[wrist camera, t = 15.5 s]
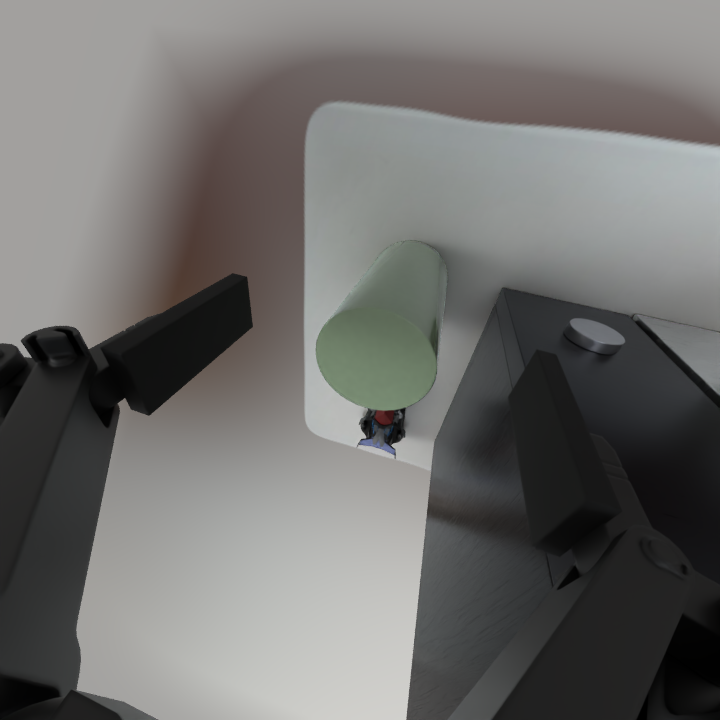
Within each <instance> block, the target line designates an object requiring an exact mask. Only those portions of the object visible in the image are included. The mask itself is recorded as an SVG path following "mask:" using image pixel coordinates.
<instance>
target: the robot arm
mask: <svg viewBox="0 0 720 720" xmlns="http://www.w3.org/2000/svg"><path fill="white" fill-rule="evenodd" d="M252 327H253V324H252V316H251V307H250V299H249V289H248V281H247V277H245V276H241V275H237V274H231V275H229V276H227V277H225V278H224V279H222V280H220V281H218V282H216V283H215V284H213V285H211V286H209V287H208V288H206V289H204V290H202V291H200V292H198V293H197V294H195V295H193V296H191V297H190V298H188V299H186V300H184V301H182V302H181V303H179V304H177V305H175V306H173V307H172V308H170V309H168V310H166V311H165V312H163V313H160V314H157V315H154V316H151V317H147V318H145V319H144V320H142V321H140V322H138V323H137V324H135V326H134V325H133V326H131V327H129V328H127V329H126V331H122V332H120V333H118V334H116V335H114V336H113V337H111V338H109V339H107V340H105V341H103V342H102V343H100V344H98V345H96V346H94V347H92V348H91V349H88V347H87V346H86V344H85V342H84V340H83V338H82V336H81V334H80V332H79V331H78V330H77V329H76V328H74V327H69V326H54V327H48V328H44V329H40V330H38V331H34V332H32V333H31V334H28V335H26V336H25V337H24V338H23V339H22V340H21V342H22V343H23V345H24V346H25V348H26V349H27V351H28V352H29V354H30V355H31V357H32V358H27V357H24V356H23V355H22V354H21V352H20V351H19V349H18V348H17V347H16V346H14V345H12V344H3V343H2V344H0V720H157V719H156V718H154V717H152V716H150V715H148V714H146V713H144V712H142V711H140V710H138V709H136V708H134V707H132V706H130V705H129V704H127V703H125V702H122V701H118V700H114V699H109V698H106V697H101V696H97V695H93V694H89V693H85V692H81V691H77V690H76V689H77V683H78V678H79V671H80V662H81V656H80V647H79V643H78V639H77V635H76V626H77V620H78V615H79V610H80V605H81V600H82V595H83V590H84V585H85V580H86V575H87V571H88V565H89V561H90V556H91V551H92V546H93V541H94V536H95V531H96V526H97V521H98V516H99V512H100V507H101V502H102V497H103V492H104V487H105V482H106V477H107V472H108V468H109V462H110V458H111V453H112V448H113V443H114V438H115V433H116V428H117V423H118V419H119V414H120V410H119V409H120V408H119V406H118V404H117V403H119V402H120V401H121V400H123V399H124V398H126V400H127V402H128V404H129V406H130V408H131V409H132V410H134V411H137V412H140V413H143V414H146V415H151V414H152V413H153V412H154V411H155V410H156V409H158V408H159V407H160V406H161V405H162V404H163V403H164V402H166V401H167V400H168V399H169V398H170V397H171V396H172V395H174V394H175V393H176V392H177V391H178V390H180V389H181V388H182V387H183V386H184V385H185V384H187V383H188V382H189V381H190V380H191V379H192V378H194V377H195V376H196V375H197V374H198V373H199V372H201V371H202V370H203V369H204V368H205V367H206V366H207V365H209V364H210V363H211V362H212V361H213V360H215V358H217V357H218V356H219V355H220V354H221V353H223V352H224V351H225V350H226V349H227V348H229V347H230V346H231V345H232V344H233V343H234V342H235V341H237V340H238V339H239V338H240V337H241V336H242V335H243V334H245V333H246V332H247V331H248V330H249V329H251V328H252ZM508 401H509V407H510V413H511V420H512V426H513V432H514V438H515V445H516V451H517V457H518V463H519V470H520V476H521V482H522V488H523V495H524V501H525V507H526V513H527V520H528V526H529V532H530V538H531V545H532V548H535V549H538V550H541V551H544V552H547V553H550V554H553V555H555V556H558V557H560V556H562V555H563V554H564V553H566V552H567V551H568V550H570V549H571V548H572V552H573V556H574V560H575V564H573V565H572V566H570V567H569V568H567V569H566V570H564V571H563V572H561V573H560V574H558V575H557V576H555V578H556V579H557V580H558V582H557V583H556V584H555V586H554V587H553V588H552V589H551V591H550V592H549V593H548V594H547V596H546V597H545V598H544V599H543V601H542V602H541V603H540V604H539V606H538V607H537V608H536V609H535V611H534V612H533V613H532V614H531V616H530V617H529V618H528V619H527V621H526V622H525V623H524V624H523V626H522V627H521V628H520V629H519V631H518V632H517V633H516V634H515V636H514V637H513V638H512V639H511V641H510V642H509V643H508V644H507V646H506V647H505V648H504V649H503V651H502V652H501V653H500V654H499V656H498V657H497V658H496V659H495V661H494V662H493V663H492V664H491V666H490V667H489V668H488V669H487V671H486V672H485V673H484V675H483V676H482V677H481V678H480V680H479V681H478V682H477V683H476V685H475V686H474V687H473V688H472V690H471V691H470V692H469V693H468V695H467V696H466V697H465V698H464V700H463V701H462V702H461V703H460V705H459V706H458V707H457V708H456V710H455V711H454V712H453V713H452V715H451V716H450V717H449V718H448V720H636V719H637V717H638V715H639V712H640V710H641V708H642V706H643V703H644V701H645V699H646V696H647V694H648V708H647V720H720V585H719V584H718V583H716V582H714V581H712V580H711V579H709V578H707V577H705V576H704V575H702V574H700V573H699V572H697V571H695V570H694V569H693V567H692V565H691V563H690V561H689V560H688V559H687V557H686V556H685V555H684V553H683V552H682V551H681V549H679V548H678V547H677V546H676V545H675V544H674V543H673V542H672V541H671V540H670V539H669V538H667V537H666V536H664V535H663V534H661V533H660V532H658V531H657V530H655V529H653V528H652V526H651V524H650V522H649V520H648V518H647V516H646V514H645V512H644V510H643V508H642V506H641V504H640V501H639V499H638V497H637V495H636V493H635V491H634V489H633V487H632V485H631V483H630V481H628V476H627V474H626V472H625V470H624V469H623V468H622V464H621V462H620V460H619V458H618V456H617V454H616V451H615V450H614V449H613V448H612V447H611V446H610V445H609V443H608V442H607V441H606V440H605V439H604V438H603V437H602V436H599V435H595V434H592V433H589V431H588V428H587V426H586V423H585V421H584V419H583V416H582V414H581V412H580V409H579V407H578V404H577V402H576V400H575V397H574V395H573V393H572V390H571V388H570V385H569V383H568V381H567V378H566V376H565V374H564V371H563V369H562V366H561V364H560V362H559V359H558V357H557V355H556V354H554V353H550V352H546V351H542V350H538V349H536V351H535V353H534V354H533V356H532V358H531V359H530V361H529V363H528V364H527V366H526V368H525V369H524V371H523V373H522V374H521V376H520V378H519V379H518V381H517V383H516V384H515V386H514V388H513V389H512V391H511V393H510V394H509V396H508Z"/></svg>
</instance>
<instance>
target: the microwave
mask: <svg viewBox="0 0 720 720" xmlns="http://www.w3.org/2000/svg"><path fill="white" fill-rule="evenodd" d="M536 349H538V350H542V351H546V352H550V353H554V354H556V355H557V357H558V359H559V362H560V364H561V366H562V369H563V371H564V374H565V376H566V378H567V381H568V383H569V385H570V388H571V390H572V393H573V395H574V397H575V400H576V402H577V404H578V407H579V409H580V412H581V414H582V416H583V419H584V421H585V423H586V426H587V428H588V431H589V433H592V434H595V435H599V436H602V437H603V438H604V439H605V440H606V441H607V442H608V443H609V445H610V446H611V447H612V448H613V449H614V450H615V451H616V454H617V456H618V458H619V460H620V462H621V464H622V468H623V469H624V470H625V472H626V474H627V476H628V481H630V483H631V485H632V487H633V489H634V491H635V493H636V495H637V497H638V499H639V501H640V504H641V506H642V508H643V510H644V512H645V514H646V516H647V518H648V520H649V522H650V524H651V526H652V528H653V529H655V530H657V531H658V532H660V533H661V534H663V535H664V536H666V537H667V538H669V539H670V540H671V541H672V542H673V543H674V544H675V545H676V546H677V547H678V548H679V549H681V551H682V552H683V553H684V555H685V556H686V557H687V559H688V560H689V561H690V563H691V565H692V567H693V569H694V570H695V571H697V572H699V573H700V574H702V575H704V576H705V577H707V578H709V579H711V580H712V581H714V582H716V583H718V584H719V585H720V409H719V408H718V407H717V406H716V405H715V404H714V403H713V401H712V400H711V399H710V398H709V397H708V396H707V395H706V394H705V393H704V392H703V391H702V390H701V389H700V388H699V387H698V386H697V385H696V384H695V383H694V382H693V381H692V380H691V379H690V378H689V377H688V376H687V375H686V374H685V373H684V372H683V371H682V370H681V369H680V368H679V367H678V366H677V365H676V364H675V363H674V362H673V361H672V360H671V359H670V358H669V357H668V356H667V355H666V354H665V353H664V352H663V351H662V350H661V349H660V348H659V347H658V346H657V345H656V344H655V343H654V342H653V341H652V340H651V338H650V337H649V336H648V335H647V334H646V333H645V332H644V331H643V330H642V329H641V328H640V327H639V326H638V325H637V324H636V323H635V322H634V321H633V320H632V319H631V318H630V317H629V316H628V315H624V314H619V313H615V312H610V311H606V310H601V309H597V308H592V307H588V306H583V305H579V304H574V303H570V302H565V301H561V300H556V299H552V298H547V297H543V296H538V295H534V294H529V293H525V292H520V291H516V290H511V289H507V288H502V290H501V293H500V295H499V297H498V299H497V302H496V304H495V305H494V307H493V310H492V312H491V314H490V316H489V319H488V321H487V323H486V326H485V328H484V330H483V332H482V335H481V337H480V339H479V342H478V344H477V346H476V348H475V351H474V353H473V355H472V357H471V360H470V362H469V364H468V367H467V369H466V371H465V373H464V376H463V378H462V380H461V383H460V385H459V387H458V389H457V392H456V394H455V396H454V399H453V401H452V403H451V405H450V408H449V410H448V412H447V414H446V417H445V419H444V421H443V424H442V426H441V428H440V430H439V433H438V435H437V437H436V440H435V442H434V450H433V459H432V469H431V480H430V490H429V499H428V509H427V519H426V529H425V539H424V549H423V560H422V569H421V579H420V589H419V599H418V609H417V620H416V629H415V639H414V650H413V659H412V669H411V679H410V689H409V699H408V709H407V720H448V718H449V717H450V716H451V715H452V713H453V712H454V711H455V710H456V708H457V707H458V706H459V705H460V703H461V702H462V701H463V700H464V698H465V697H466V696H467V695H468V693H469V692H470V691H471V690H472V688H473V687H474V686H475V685H476V683H477V682H478V681H479V680H480V678H481V677H482V676H483V675H484V673H485V672H486V671H487V669H488V668H489V667H490V666H491V664H492V663H493V662H494V661H495V659H496V658H497V657H498V656H499V654H500V653H501V652H502V651H503V649H504V648H505V647H506V646H507V644H508V643H509V642H510V641H511V639H512V638H513V637H514V636H515V634H516V633H517V632H518V631H519V629H520V628H521V627H522V626H523V624H524V623H525V622H526V621H527V619H528V618H529V617H530V616H531V614H532V613H533V612H534V611H535V609H536V608H537V607H538V606H539V604H540V603H541V602H542V601H543V599H544V598H545V597H546V596H547V594H548V593H549V592H550V591H551V589H552V588H553V587H554V586H555V584H556V583H557V582H558V580H557V579H556V578H555V576H557V575H558V574H560V573H561V572H563V571H564V570H566V569H567V568H569V567H570V566H572V565H573V564H575V560H574V556H573V552H572V548H571V549H570V550H568V551H567V552H566V553H564V554H563V555H562V556H560V557H558V556H555V555H553V554H550V553H547V552H544V551H541V550H538V549H535V548H532V545H531V538H530V532H529V526H528V520H527V513H526V507H525V501H524V495H523V488H522V482H521V476H520V470H519V463H518V457H517V451H516V445H515V438H514V432H513V426H512V420H511V413H510V407H509V401H508V396H509V394H510V393H511V391H512V389H513V388H514V386H515V384H516V383H517V381H518V379H519V378H520V376H521V374H522V373H523V371H524V369H525V368H526V366H527V364H528V363H529V361H530V359H531V358H532V356H533V354H534V353H535V351H536ZM647 708H648V694H647V696H646V699H645V701H644V703H643V706H642V708H641V710H640V712H639V715H638V717H637V719H636V720H647Z"/></svg>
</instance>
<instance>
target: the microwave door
mask: <svg viewBox="0 0 720 720" xmlns="http://www.w3.org/2000/svg"><path fill="white" fill-rule="evenodd" d="M632 320H633V321H634V322H635V323H636V324H637V325H638V326H639V327H640V328H641V329H642V330H643V331H644V332H645V333H646V334H647V335H648V336H649V337H650V338H651V340H652V341H653V342H654V343H655V344H656V345H657V346H658V347H659V348H660V349H661V350H662V351H663V352H664V353H665V354H666V355H667V356H668V357H669V358H670V359H671V360H672V361H673V362H674V363H675V364H676V365H677V366H678V367H679V368H680V369H681V370H682V371H683V372H684V373H685V374H686V375H687V376H688V377H689V378H690V379H691V380H692V381H693V382H694V383H695V384H696V385H697V386H698V387H699V388H700V389H701V390H702V391H703V392H704V393H705V394H706V395H707V396H708V397H709V398H710V399H711V400H712V401H713V403H714V404H715V405H716V406H717V407H718V408H719V409H720V332H716V331H711V330H707V329H702V328H698V327H693V326H689V325H684V324H679V323H675V322H670V321H666V320H661V319H657V318H652V317H648V316H643V315H639V314H635V315H634V317H633V318H632Z"/></svg>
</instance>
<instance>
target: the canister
mask: <svg viewBox="0 0 720 720" xmlns="http://www.w3.org/2000/svg"><path fill="white" fill-rule="evenodd" d="M447 283H448V272H447V268H446V265H445V262H444V260H443V258H442V257H441V256H440V254H439V253H438V252H437V251H436V250H435V249H433V248H432V247H431V246H429V245H427V244H425V243H422V242H419V241H412V240H408V241H401V242H397V243H395V244H393V245H391V246H389V247H388V248H386V249H385V250H384V251H383V252H382V253H381V254H380V255H379V257H378V258H377V259H376V260H375V262H374V263H373V264H372V265H371V267H370V268H369V269H368V270H367V272H366V273H365V274H364V276H363V277H362V278H361V279H360V281H359V282H358V283H357V284H356V286H355V287H354V288H353V290H352V291H351V292H350V293H349V295H348V296H347V297H346V298H345V300H344V301H343V302H342V303H341V305H340V306H339V307H338V309H337V310H336V311H335V312H334V314H333V315H332V316H331V317H330V319H329V320H328V321H327V322H326V324H325V325H324V327H323V328H322V330H321V331H320V333H319V336H318V339H317V343H316V358H317V363H318V366H319V369H320V371H321V373H322V375H323V376H324V378H325V380H326V381H327V382H328V384H329V385H330V386H331V387H332V388H333V389H334V390H335V391H336V392H337V393H339V394H340V395H341V396H343V397H344V398H345V399H347V400H349V401H351V402H352V403H355V404H357V405H359V406H362V407H365V408H369V409H374V410H386V411H388V410H397V409H402V408H405V407H408V406H411V405H413V404H415V403H416V402H418V401H419V400H421V399H422V398H423V397H424V396H425V395H426V394H427V393H428V392H429V390H430V389H431V387H432V386H433V383H434V381H435V378H436V374H437V366H438V358H439V350H440V341H441V333H442V325H443V316H444V308H445V300H446V291H447Z"/></svg>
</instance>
